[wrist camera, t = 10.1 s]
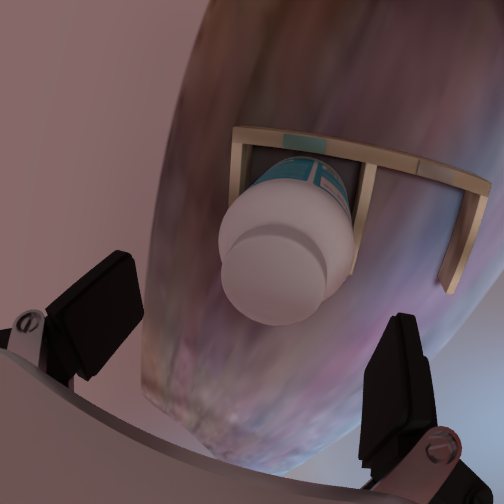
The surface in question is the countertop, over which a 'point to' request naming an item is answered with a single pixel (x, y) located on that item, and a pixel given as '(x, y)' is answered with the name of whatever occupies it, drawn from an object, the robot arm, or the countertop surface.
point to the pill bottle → (287, 242)
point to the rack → (372, 183)
